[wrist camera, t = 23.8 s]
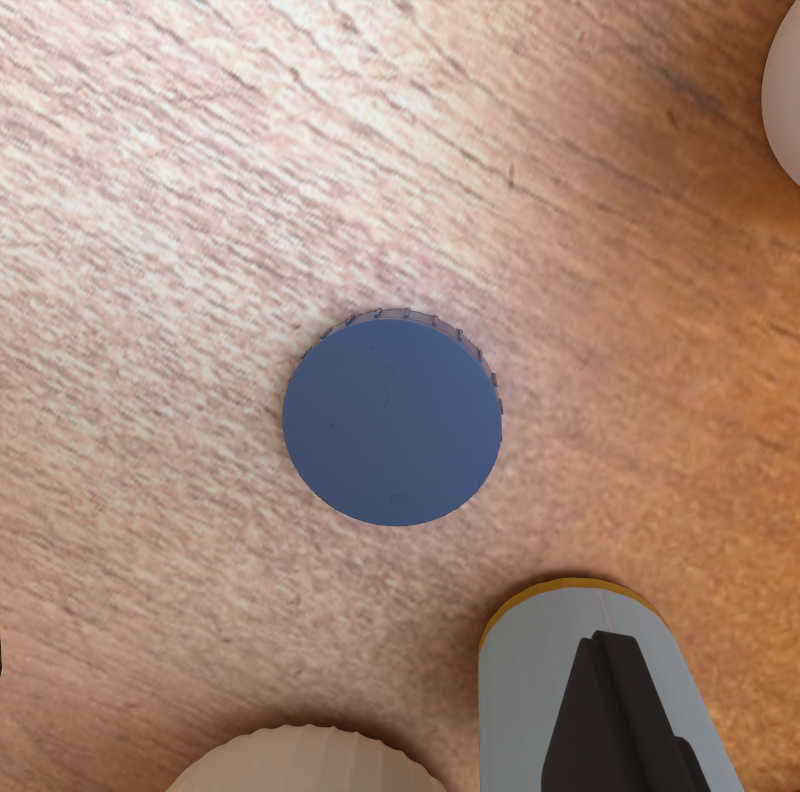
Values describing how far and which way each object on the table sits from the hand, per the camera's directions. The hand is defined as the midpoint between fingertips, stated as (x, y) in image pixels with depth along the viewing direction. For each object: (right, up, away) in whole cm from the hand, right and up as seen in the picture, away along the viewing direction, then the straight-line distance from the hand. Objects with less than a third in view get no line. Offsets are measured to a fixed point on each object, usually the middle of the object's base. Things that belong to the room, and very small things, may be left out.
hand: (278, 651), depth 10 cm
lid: (+2, +3, +11) cm, 11 cm away
